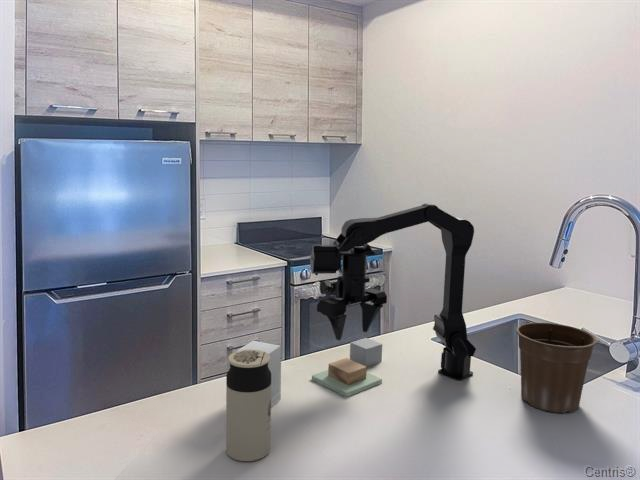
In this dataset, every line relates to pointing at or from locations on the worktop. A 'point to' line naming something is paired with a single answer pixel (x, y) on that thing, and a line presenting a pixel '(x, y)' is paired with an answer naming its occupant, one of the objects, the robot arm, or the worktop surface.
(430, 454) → the worktop surface
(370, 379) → the baseplate
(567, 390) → the plant pot
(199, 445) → the worktop surface
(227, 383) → the travel mug
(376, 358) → the slate block
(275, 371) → the supplement box
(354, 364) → the walnut block
